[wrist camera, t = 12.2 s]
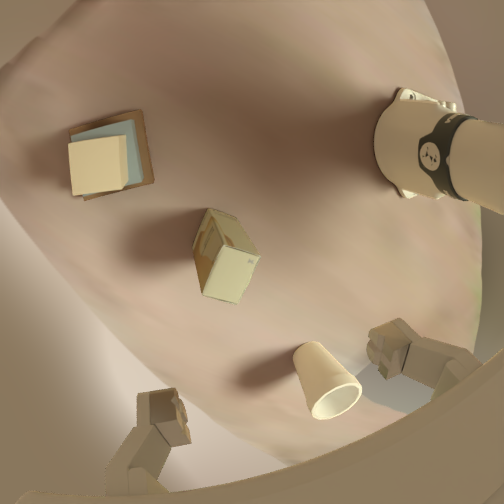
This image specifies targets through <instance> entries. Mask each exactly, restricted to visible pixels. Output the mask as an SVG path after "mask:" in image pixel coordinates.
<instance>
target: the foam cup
mask: <svg viewBox="0 0 504 504" xmlns="http://www.w3.org/2000/svg"><path fill="white" fill-rule="evenodd" d="M293 362H294V365H295V368H296V371H297V374H298V377H299V380H300V382H301V385H302V388H303V391H304V394H305V397H306V402H307V406H308V409H309V410H310V412H311V414H312V416H313V417H314V418H316V419H319V420H321V419H330V418H332V417H335V416H338V415H340V414H342V413H343V412H345V411H346V410H348V409H350V408H351V407H352V406H353V405H354V404H355V403H356V402H357V401H358V399H359V397H360V395H361V394H362V386H361V385H360V383H359V382H358V381H357V379H356V378H355V377H354V376H353V375H352V374H350V373H349V372H348V371H347V370H346V369H345V368H344V367H343V366H342V365H341V364H340V363H339V362H338V361H337V360H336V359H335V358H334V357H333V356H332V355H331V354H330V353H329V352H328V351H327V350H326V349H325V348H324V347H323V346H322V345H321V344H320V343H319V342H314V341H311V342H308V343H305V344H303V345H302V346H300V347H299V348H298V349H297V350H296V351H295V352H294V355H293Z"/></svg>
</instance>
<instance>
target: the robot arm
mask: <svg viewBox="0 0 504 504" xmlns="http://www.w3.org/2000/svg"><path fill="white" fill-rule="evenodd" d="M374 150H375V156H376V160H377V163H378V166H379V168H380V170H381V171H382V173H383V174H384V176H385V177H386V178H387V179H388V180H389V181H391V182H392V183H394V184H395V185H396V186H397V188H398V190H399V192H400V194H401V195H402V197H404V198H408V199H409V198H412V197H414V196H416V195H418V194H419V195H422V196H425V197H429V198H432V199H436V200H437V199H439V198H440V197H443V196H445V195H448V196H449V197H451V198H454V199H457V200H462V201H472V202H474V203H476V204H479V205H481V206H484V207H486V208H488V209H490V210H492V211H495V212H497V213H499V214H502V215H504V124H502V123H494V122H488V121H481V120H478V119H477V118H475V117H473V116H470V115H467V114H462V113H457V112H456V104H454V103H451V102H444V101H437V100H435V99H432V98H430V97H427V96H425V95H422V94H420V93H417V92H415V91H412V90H409V89H406V88H401V89H400V90H399V91H398V93H397V95H396V98H395V100H394V102H393V103H392V104H391V105H390V106H389V107H388V108H387V109H386V110H385V111H384V112H383V113H382V115H381V117H380V118H379V121H378V123H377V126H376V130H375V136H374ZM368 337H369V338H370V341H369V342H368V344H367V354H368V357H369V359H370V360H371V362H372V363H373V364H376V365H378V371H379V372H380V373H381V374H382V375H383V377H384V378H385V379H386V380H387V379H390V378H392V377H394V376H396V375H398V374H400V373H402V374H403V375H405V376H407V377H409V378H412V379H414V380H416V381H418V382H420V383H422V384H424V385H427V386H429V387H431V388H433V389H435V390H434V392H433V394H432V396H431V401H430V402H429V403H427V404H426V405H424V406H422V407H421V408H419V409H417V410H415V411H414V412H412V413H410V414H408V415H407V416H405V417H403V418H401V419H399V420H398V421H396V422H394V423H392V424H390V425H388V426H386V427H384V428H382V429H380V430H378V431H376V432H374V433H372V434H370V435H368V436H366V437H364V438H362V439H359V440H357V441H355V442H353V443H350V444H348V445H346V446H343V447H341V448H339V449H336V450H334V451H331V452H329V453H326V454H324V455H321V456H318V457H316V458H313V459H310V460H308V461H305V462H302V463H299V464H296V465H293V466H290V467H287V468H284V469H280V470H277V471H274V472H270V473H267V474H263V475H260V476H256V477H252V478H248V479H244V480H240V481H235V482H231V483H226V484H221V485H216V486H211V487H205V488H199V489H193V490H186V491H179V492H170V493H169V491H168V490H167V489H166V488H164V487H163V486H162V485H161V484H160V483H159V482H158V481H157V479H158V477H159V475H160V472H161V470H162V468H163V466H164V464H165V462H166V459H167V457H168V455H169V453H170V451H171V447H176V446H181V445H187V444H191V438H190V432H189V429H188V427H187V425H186V423H187V422H188V419H187V414H186V410H185V407H184V404H183V402H182V400H181V399H179V396H178V392H177V390H176V388H168V389H162V390H156V391H150V392H143V393H138V395H137V427H133V429H132V430H131V432H130V433H129V435H128V436H127V438H126V439H125V440H124V442H123V443H122V445H121V446H120V448H119V449H118V451H117V452H116V454H115V455H114V457H113V458H112V459H111V461H110V462H109V464H108V465H107V467H106V468H105V469H106V470H105V490H106V491H105V492H106V496H82V495H67V494H55V493H47V492H40V491H28V492H26V493H25V494H24V495H22V496H21V497H20V499H19V500H18V501H17V502H16V503H15V504H504V348H503V349H502V350H500V351H499V352H498V353H497V354H496V355H494V356H493V357H492V358H491V359H489V360H488V361H487V362H486V363H484V364H482V363H481V362H480V361H479V360H478V359H477V358H476V357H475V356H474V355H473V354H472V353H470V352H469V351H468V350H467V349H465V348H461V347H458V346H454V345H451V344H447V343H444V342H440V341H437V340H433V339H430V338H426V337H423V338H421V337H420V336H419V335H418V334H417V333H416V332H415V331H414V330H413V329H412V328H411V327H410V326H409V325H408V324H407V323H406V322H405V321H404V320H402V319H401V318H397V319H395V320H392V321H390V322H387V323H385V324H382V325H380V326H378V327H375V328H373V329H371V330H370V331H369V336H368Z"/></svg>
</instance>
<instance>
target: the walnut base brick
mask: <svg viewBox="0 0 504 504" xmlns="http://www.w3.org/2000/svg"><path fill="white" fill-rule="evenodd" d="M130 119H131V120H134V122H135V129H136V135H137V141H138V147H139V153H140V159H141V165H142V170H143V175H144V178H143V180H142V182H140V183H135V184H131V185H127V186H124V187H123V189H122V190H113V191H105V192H99V193H95V194H91V195H88V196H84V197H83V198H84V201H86V200H90V199H93V198H97V197H100V196H104V195H108V194H111V193H115V192H119V191H123V190H127V189H131V188H135V187H139V186H143V185H147V184H152V183H154V180H155V179H154V174H153V169H152V164H151V158H150V153H149V148H148V142H147V136H146V131H145V125H144V118H143V112H142V110H141V109H140V110H135V111H131V112H127V113H123V114H120V115H116V116H112V117H109V118H105V119H102V120H98V121H95V122H92V123H88V124H85V125H82V126H79V127H76V128H73V129H70V130H69V134H70V139H71V136H72V135H76V134H79V133H82V132H85V131H89V130H92V129H96V128H99V127H103V126H107V125H110V124H114V123H118V122H122V121H126V120H130ZM71 143H72V141H71Z"/></svg>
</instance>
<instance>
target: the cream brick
mask: <svg viewBox="0 0 504 504" xmlns="http://www.w3.org/2000/svg"><path fill="white" fill-rule="evenodd" d="M68 150H69V163H70V174H71V183H72V192H73V196H74V195H82V194H89V193H97V192H105V191H113V190H122V189H123V187H124V186H125V184H126V183H127V182H128V180H129V179H128V164H127V145H126V135H117V136H110V137H102V138H95V139H89V140H82V141H78V142H73V143H68Z"/></svg>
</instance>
